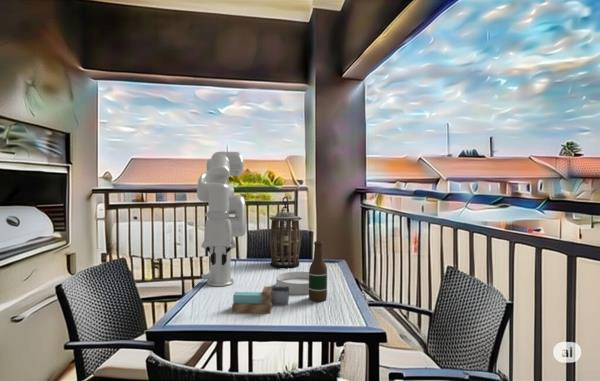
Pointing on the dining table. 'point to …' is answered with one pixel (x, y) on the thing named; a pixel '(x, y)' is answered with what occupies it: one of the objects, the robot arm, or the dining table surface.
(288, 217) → the lantern
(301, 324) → the dining table surface
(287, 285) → the dish
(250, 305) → the brown wooden bracket
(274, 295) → the cradle block
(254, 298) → the teal block
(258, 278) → the dining table surface
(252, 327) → the dining table surface
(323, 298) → the beer bottle
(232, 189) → the robot arm
